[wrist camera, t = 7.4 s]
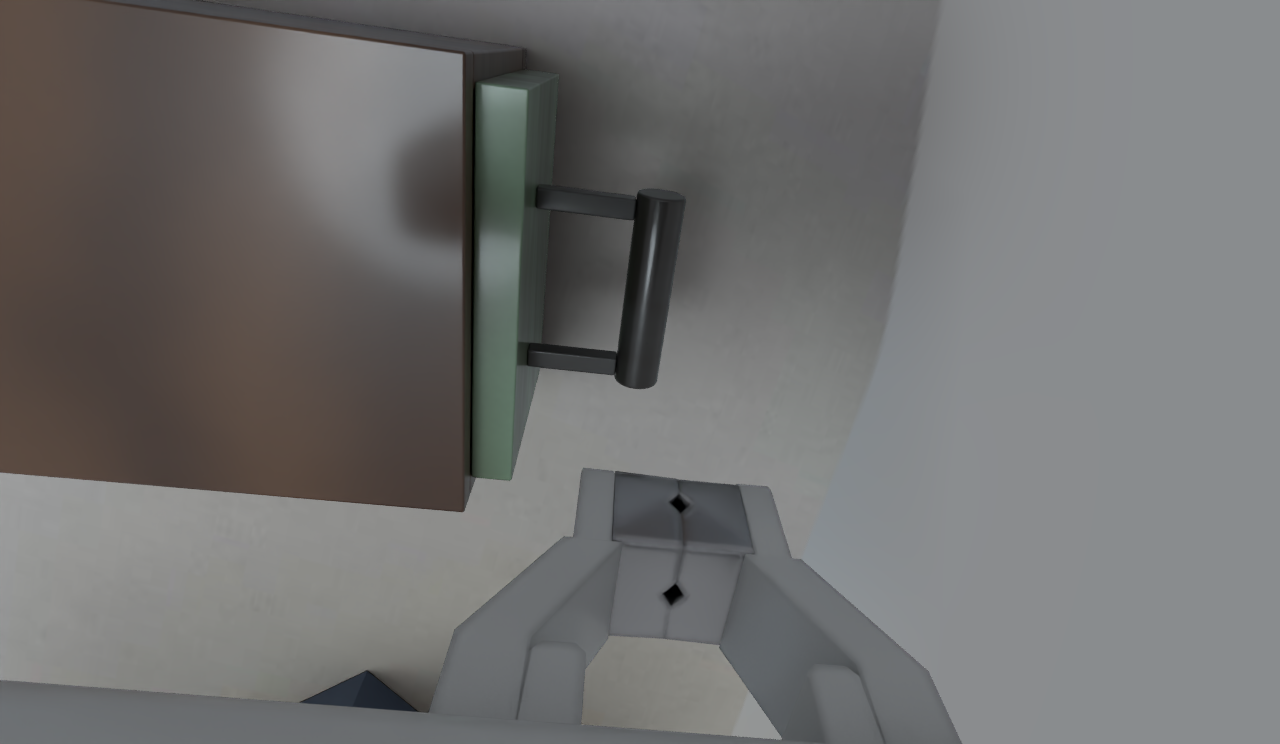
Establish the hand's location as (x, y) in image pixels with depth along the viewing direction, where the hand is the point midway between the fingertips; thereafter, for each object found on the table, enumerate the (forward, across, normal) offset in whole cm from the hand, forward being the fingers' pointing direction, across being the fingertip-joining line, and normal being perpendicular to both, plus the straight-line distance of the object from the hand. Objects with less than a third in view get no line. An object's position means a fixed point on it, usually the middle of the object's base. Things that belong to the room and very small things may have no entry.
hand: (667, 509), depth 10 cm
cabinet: (+15, +12, 0) cm, 20 cm away
